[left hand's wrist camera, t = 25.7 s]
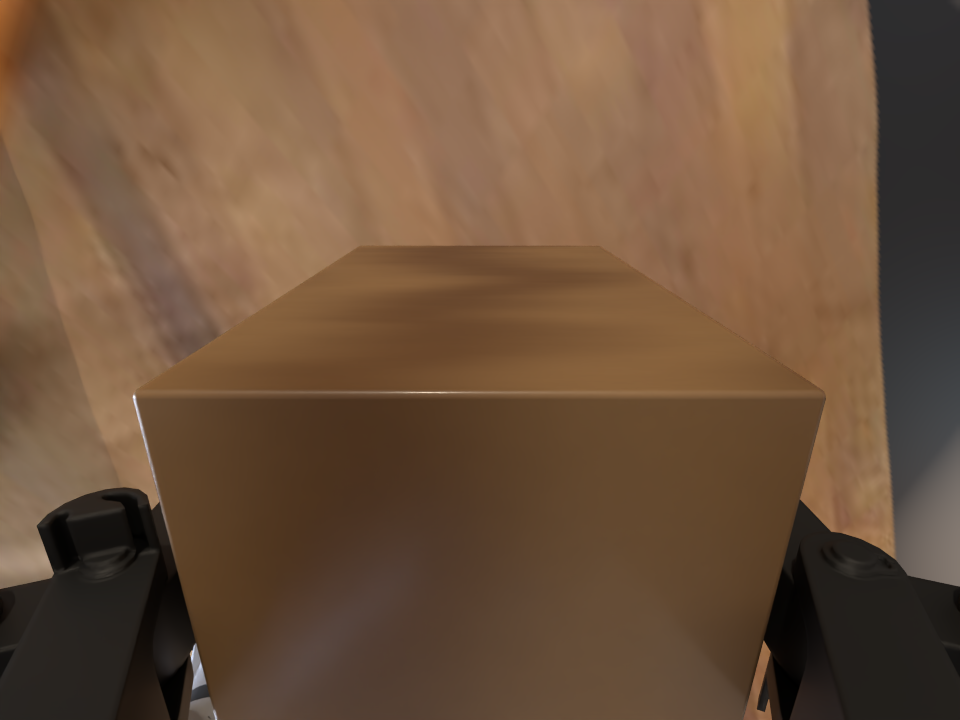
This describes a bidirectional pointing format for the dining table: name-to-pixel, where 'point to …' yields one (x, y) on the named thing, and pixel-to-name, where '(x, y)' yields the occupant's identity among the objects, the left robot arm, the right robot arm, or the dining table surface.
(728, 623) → the block
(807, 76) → the dining table surface
